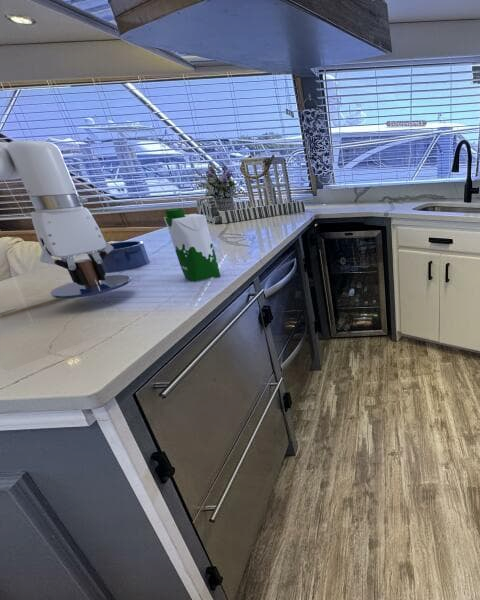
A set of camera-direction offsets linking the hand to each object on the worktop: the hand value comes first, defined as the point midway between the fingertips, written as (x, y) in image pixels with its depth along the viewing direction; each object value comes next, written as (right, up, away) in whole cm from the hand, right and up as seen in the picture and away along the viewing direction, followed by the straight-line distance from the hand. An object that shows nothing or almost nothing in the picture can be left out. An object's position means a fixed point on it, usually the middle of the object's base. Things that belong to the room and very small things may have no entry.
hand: (91, 281), depth 77 cm
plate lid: (0, -1, +1) cm, 1 cm away
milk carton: (+17, +2, +18) cm, 24 cm away
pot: (-14, +5, +27) cm, 31 cm away
